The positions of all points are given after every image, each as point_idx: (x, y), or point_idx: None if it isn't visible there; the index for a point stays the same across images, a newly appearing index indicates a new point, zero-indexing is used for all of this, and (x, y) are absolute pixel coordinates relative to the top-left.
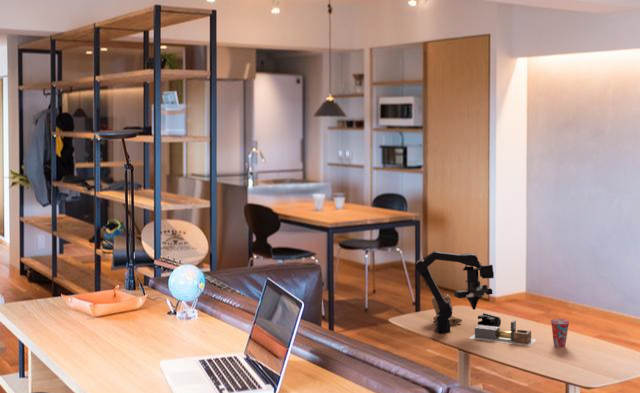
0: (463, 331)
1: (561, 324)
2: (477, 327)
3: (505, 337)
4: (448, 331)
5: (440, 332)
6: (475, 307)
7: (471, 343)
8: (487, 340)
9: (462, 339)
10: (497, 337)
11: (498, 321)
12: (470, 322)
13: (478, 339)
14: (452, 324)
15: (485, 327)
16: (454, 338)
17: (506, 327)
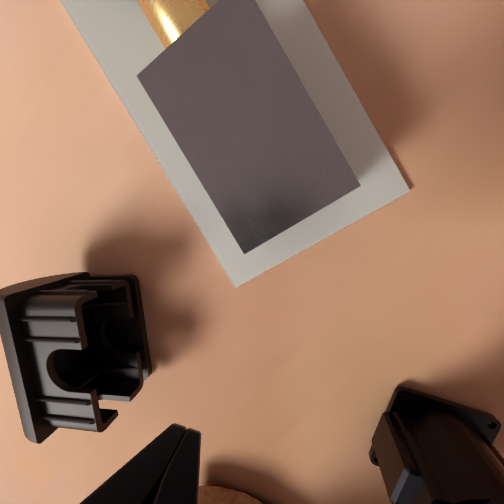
0: (291, 360)
1: None
2: (329, 177)
3: None
4: (408, 405)
5: (484, 423)
6: (151, 450)
7: (497, 62)
8: (325, 59)
9: (461, 206)
10: None
11: (31, 283)
12: None
13: (367, 121)
14: (250, 497)
15: (259, 134)
16: (493, 263)
17: (24, 276)
